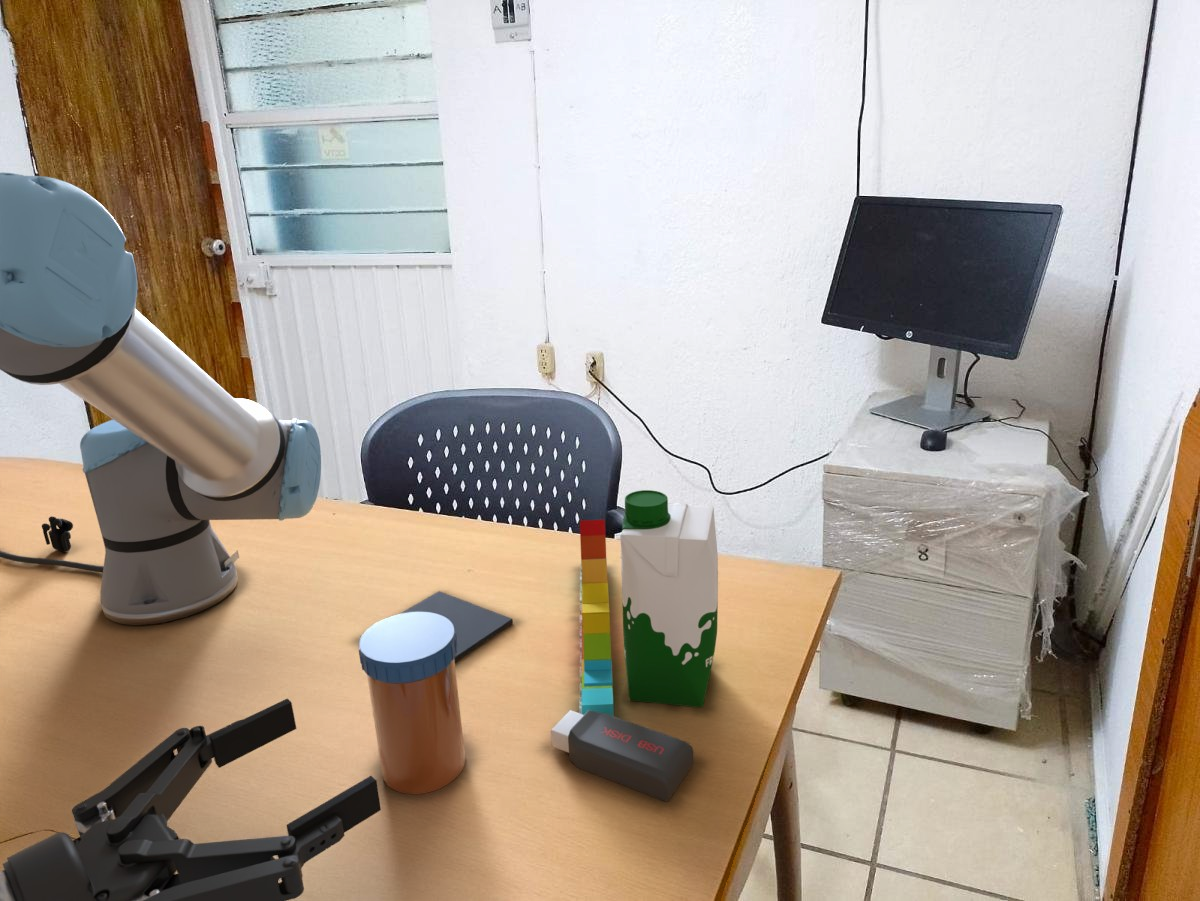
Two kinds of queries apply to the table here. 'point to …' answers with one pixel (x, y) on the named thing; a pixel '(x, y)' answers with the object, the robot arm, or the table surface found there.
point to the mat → (464, 620)
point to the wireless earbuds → (58, 533)
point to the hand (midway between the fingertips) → (331, 750)
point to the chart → (594, 622)
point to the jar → (419, 731)
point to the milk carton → (668, 598)
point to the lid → (407, 647)
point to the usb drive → (624, 752)
